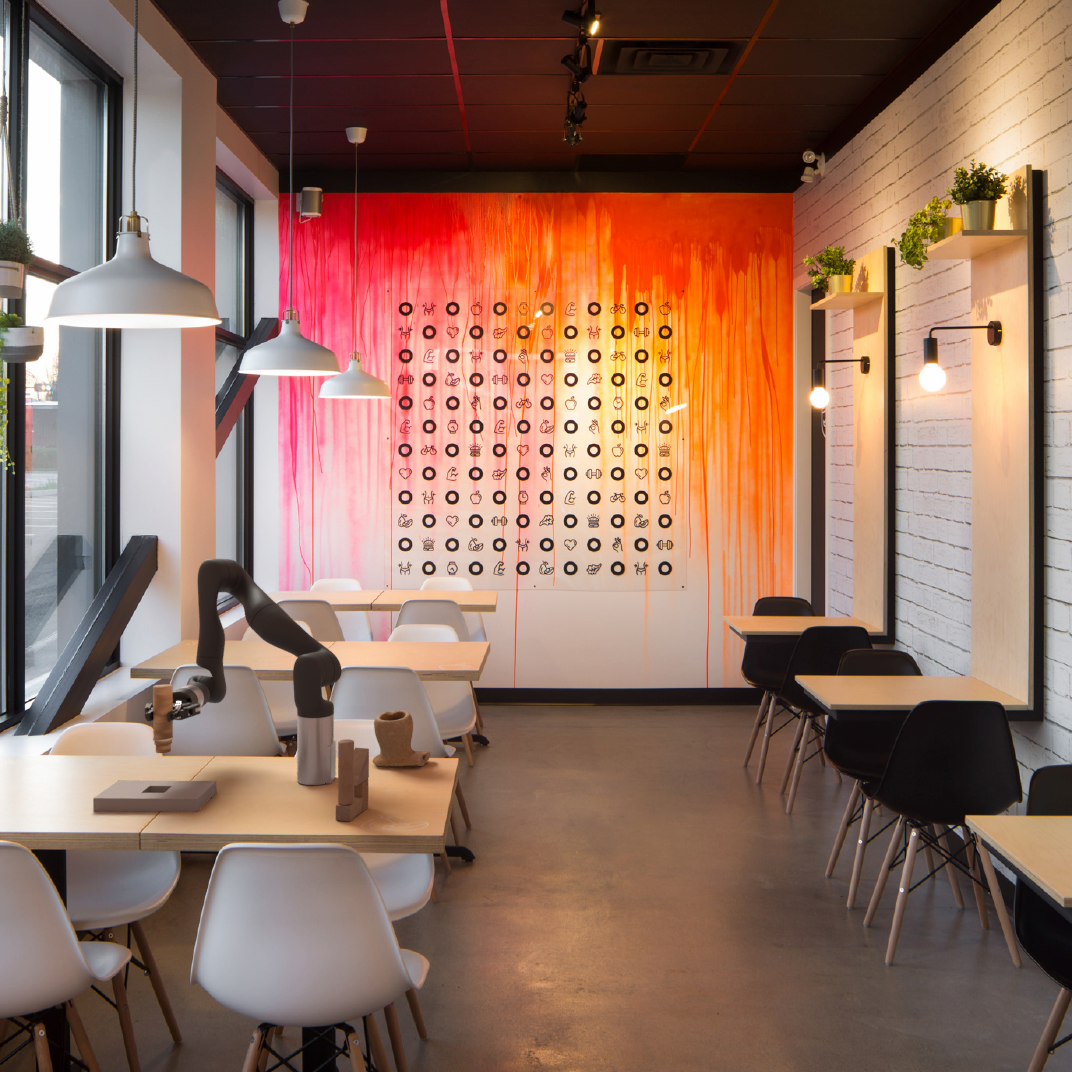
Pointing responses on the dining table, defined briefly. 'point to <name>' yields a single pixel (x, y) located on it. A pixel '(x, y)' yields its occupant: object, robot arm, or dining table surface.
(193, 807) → the grayish brown board
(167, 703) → the oak peg
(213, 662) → the robot arm
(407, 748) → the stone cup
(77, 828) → the dining table surface
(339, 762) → the wooden block
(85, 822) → the dining table surface
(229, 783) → the dining table surface
